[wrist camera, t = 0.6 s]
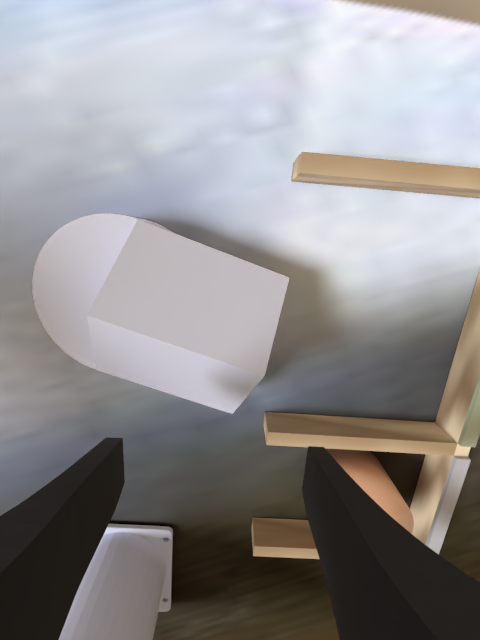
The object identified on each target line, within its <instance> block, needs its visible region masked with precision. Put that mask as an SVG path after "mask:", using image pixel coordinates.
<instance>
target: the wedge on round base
mask: <svg viewBox="0 0 480 640" xmlns="http://www.w3.org/2000/svg"><path fill="white" fill-rule="evenodd" d="M289 279H290V278H289V277H287V276H284V275H282V274H279V273H276V272H274V271H271V270H269V269H266V268H263V267H261V266H258V265H256V264H253V263H250V262H248V261H245V260H243V259H240V258H237V257H235V256H232V255H230V254H227V253H224V252H222V251H219V250H217V249H214V248H211V247H209V246H206V245H204V244H201V243H198V242H196V241H193V240H191V239H188V238H185V237H183V236H180V235H178V234H175V233H173V232H172V231H170V230H169V229H167V228H166V227H164V226H162V225H160V224H158V223H155V222H152V221H149V220H146V219H141V218H136V217H131V216H126V215H119V214H111V213H100V214H92V215H87V216H84V217H80V218H77V219H75V220H73V221H71V222H69V223H67V224H65V225H64V226H62V227H61V228H59V229H58V230H57V231H56V232H55V233H54V234H53V235H52V236H50V238H49V239H48V240H47V242H46V243H45V244H44V245H43V247H42V249H41V251H40V253H39V255H38V257H37V260H36V263H35V265H34V271H33V276H32V293H33V300H34V305H35V309H36V312H37V314H38V317H39V319H40V321H41V323H42V325H43V327H44V329H45V331H46V332H47V333H48V335H49V336H50V338H51V339H52V340H53V341H54V342H55V343H56V345H57V346H58V347H59V348H60V349H62V350H63V351H64V352H65V353H66V354H67V355H69V356H70V357H72V358H73V359H74V360H76V361H78V362H79V363H81V364H83V365H85V366H87V367H90V368H92V369H95V370H98V371H101V372H104V373H107V374H110V375H113V376H116V377H119V378H122V379H125V380H129V381H132V382H135V383H138V384H141V385H144V386H147V387H150V388H153V389H156V390H159V391H163V392H166V393H169V394H172V395H175V396H178V397H181V398H184V399H187V400H190V401H194V402H197V403H200V404H203V405H206V406H209V407H212V408H215V409H218V410H221V411H224V412H228V413H231V414H233V413H234V411H235V410H236V409H237V408H238V407H239V406H240V404H241V403H242V402H243V401H244V400H245V399H246V397H247V396H248V395H249V394H250V393H251V392H252V390H253V389H254V388H255V387H256V386H257V385H258V383H259V382H260V381H261V380H262V379H263V378H264V376H265V373H266V369H267V365H268V361H269V357H270V353H271V349H272V345H273V341H274V337H275V334H276V330H277V326H278V322H279V318H280V314H281V310H282V306H283V302H284V298H285V294H286V290H287V286H288V283H289Z"/></svg>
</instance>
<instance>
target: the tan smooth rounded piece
mask: <svg viewBox="0 0 480 640" xmlns="http://www.w3.org/2000/svg"><path fill="white" fill-rule="evenodd" d="M327 451H328V452H329V453H330V454H331V456H332V457H333V458H334V459H335V460H336V461H337V462H338V463H339V465H340V466H341V467H342V468H343V469H344V470H345V471H346V472H347V473H348V474H349V476H350V477H351V478H352V479H353V480H354V481H355V482H356V483H357V484H358V485H359V486H360V487H361V488H362V489H363V490H364V491H365V492H366V493H367V494H368V495H369V496H370V497H371V498H372V499H373V500H374V501H375V502H376V503H377V504H378V505H379V506H380V507H381V508H382V509H383V510H384V511H385V512H387V513H388V514H389V515H390V516H391V517H392V518H393V519H394V520H396V521H397V522H398V523H399V524H400V525H402V526H403V527H404V528H405V529H406V530H408V531H409V532H410V533H411V534H412V532H413V527H414V520H413V515H412V513H411V511H410V509H409V507H408V506H407V504H406V503H405V501H404V499H403V498H402V496H401V495H400V493H399V492H398V490H397V488H396V487H395V485H394V484H393V482H392V481H391V479H390V478H389V476H388V474H387V473H386V471H385V470H384V468H383V467H382V465H381V463H380V462H379V460H378V459H377V458H376V456H375V455H374V454H373V453H371V452H370V451H363V450H346V449H329V450H327Z"/></svg>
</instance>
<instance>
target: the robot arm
mask: <svg viewBox="0 0 480 640" xmlns="http://www.w3.org/2000/svg"><path fill="white" fill-rule="evenodd" d="M123 485H124V461H123V439H122V438H105V439H104V440H103V441H101V442H100V443H99V444H98V445H97V446H95V447H94V448H93V449H92V450H90V451H89V452H88V453H87V454H86V455H84V456H83V457H82V458H81V459H79V460H78V461H77V462H76V463H74V464H73V465H72V466H71V467H69V468H68V469H67V470H66V471H64V472H63V473H62V474H61V475H59V476H58V477H57V478H55V479H54V480H52V481H51V482H50V483H48V484H47V485H46V486H44V487H43V488H42V489H40V490H39V491H37V492H36V493H35V494H33V495H32V496H30V497H29V498H28V499H26V500H25V501H23V502H22V503H20V504H19V505H17V506H16V507H14V508H13V509H11V510H9V511H8V512H6V513H5V514H3V515H1V516H0V640H153V635H154V631H155V626H156V621H157V616H158V612H167V611H169V610H170V608H171V591H172V552H173V529H172V528H171V527H168V526H149V525H128V524H109V522H110V520H111V518H112V516H113V513H114V511H115V509H116V506H117V503H118V500H119V497H120V494H121V491H122V488H123ZM302 491H303V497H304V503H305V508H306V513H307V518H308V522H309V525H310V529H311V532H312V535H313V539H314V542H315V546H316V549H317V552H318V556H319V559H320V562H321V566H322V569H323V572H324V576H325V579H326V582H327V586H328V589H329V593H330V597H331V601H332V605H333V610H334V615H335V619H336V624H337V629H338V633H339V638H340V640H480V583H479V582H478V581H476V580H475V579H473V578H472V577H470V576H468V575H467V574H465V573H464V572H462V571H461V570H460V569H458V568H457V567H455V566H454V565H452V564H451V563H449V562H448V561H447V560H445V559H444V558H442V557H441V556H440V555H438V554H437V553H436V552H434V551H433V550H432V549H430V548H429V547H428V546H426V545H425V544H424V543H422V542H421V541H420V540H419V539H417V538H416V537H415V536H414V535H412V534H411V533H410V532H409V531H408V530H406V529H405V528H404V527H403V526H402V525H400V524H399V523H398V522H397V521H396V520H394V519H393V518H392V517H391V516H390V515H389V514H388V513H387V512H385V511H384V510H383V509H382V508H381V507H380V506H379V505H378V504H377V503H376V502H375V501H374V500H373V499H372V498H371V497H370V496H369V495H368V494H367V493H366V492H365V491H364V490H363V489H362V488H361V487H360V486H359V485H358V484H357V483H356V482H355V481H354V480H353V479H352V478H351V477H350V476H349V474H348V473H347V472H346V471H345V470H344V469H343V468H342V467H341V466H340V465H339V463H338V462H337V461H336V460H335V459H334V458H333V457H332V456H331V454H330V453H329V452H328V451H327V450H326V449H325V448H324V447H313V446H308V452H307V459H306V466H305V473H304V480H303V487H302ZM166 537H167V538H166Z"/></svg>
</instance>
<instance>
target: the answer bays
mask: <svg viewBox="0 0 480 640" xmlns="http://www.w3.org/2000/svg"><path fill="white" fill-rule="evenodd" d="M291 181H295V182H306V183H317V184H328V185H339V186H350V187H361V188H372V189H383V190H395V191H406V192H417V193H428V194H439V195H450V196H461V197H472V198H480V168H469V167H459V166H448V165H437V164H427V163H416V162H405V161H394V160H384V159H373V158H362V157H352V156H341V155H330V154H320V153H309V152H302V153H301V154H300V155H299V157H298V158H297V159H296V160H295V162H294V163H293V171H292V180H291ZM263 424H264V431H265V438H266V444H267V445H277V446H294V447H308V446H313V447H324V448H329V449H346V450H363V451H380V452H398V453H415V454H426V455H425V458H424V462H423V465H422V469H421V472H420V476H419V479H418V482H417V486H416V489H415V493H414V496H413V500H412V503H411V506H410V511H411V513H412V515H413V520H414V527H413V532H412V535H414V536H415V537H416V538H417V539H419V540H420V541H421V542H422V543H424V544H425V545H426V546H428V547H429V548H430V549H432V550H433V551H434V552H436V553H437V554H438V555H439V552H440V549H441V546H442V543H443V540H444V538H445V535H446V532H447V529H448V526H449V523H450V520H451V517H452V514H453V511H454V508H455V505H456V502H457V499H458V497H459V494H460V491H461V488H462V485H463V482H464V479H465V476H466V473H467V470H468V467H469V464H470V461H471V459H470V458H469V457H468V454H469V451H470V448H471V447H476V444H477V441H478V438H479V435H480V270H479V273H478V277H477V280H476V283H475V287H474V290H473V294H472V297H471V301H470V304H469V307H468V311H467V314H466V318H465V321H464V325H463V328H462V331H461V335H460V338H459V342H458V345H457V349H456V352H455V355H454V359H453V362H452V366H451V369H450V373H449V376H448V379H447V383H446V386H445V390H444V393H443V397H442V400H441V404H440V407H439V410H438V414H437V417H436V421H435V422H421V421H405V420H389V419H373V418H357V417H341V416H325V415H308V414H292V413H276V412H265V414H264V422H263ZM251 528H252V546H253V556H262V557H284V558H307V559H319V556H318V552H317V549H316V546H315V542H314V539H313V535H312V532H311V529H310V525H309V522H308V520H295V519H275V518H254V517H252V526H251Z"/></svg>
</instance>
